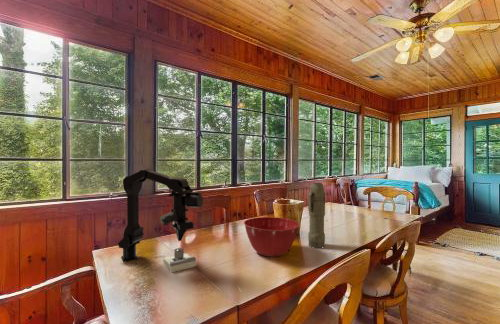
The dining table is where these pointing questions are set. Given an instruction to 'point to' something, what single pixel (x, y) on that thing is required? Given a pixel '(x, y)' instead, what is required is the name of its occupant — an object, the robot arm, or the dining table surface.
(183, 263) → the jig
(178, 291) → the dining table surface
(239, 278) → the dining table surface
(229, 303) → the dining table surface
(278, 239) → the mixing bowl
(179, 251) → the metal cylinder rod
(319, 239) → the thermos
